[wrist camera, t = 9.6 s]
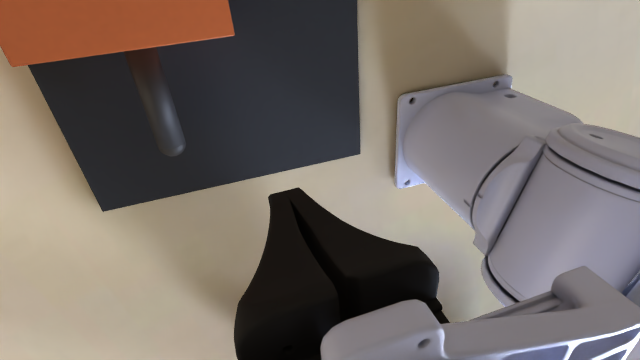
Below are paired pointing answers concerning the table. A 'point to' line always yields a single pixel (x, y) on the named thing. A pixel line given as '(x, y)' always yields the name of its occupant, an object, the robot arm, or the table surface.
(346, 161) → the table surface
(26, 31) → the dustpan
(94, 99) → the mat
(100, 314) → the table surface
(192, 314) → the table surface
